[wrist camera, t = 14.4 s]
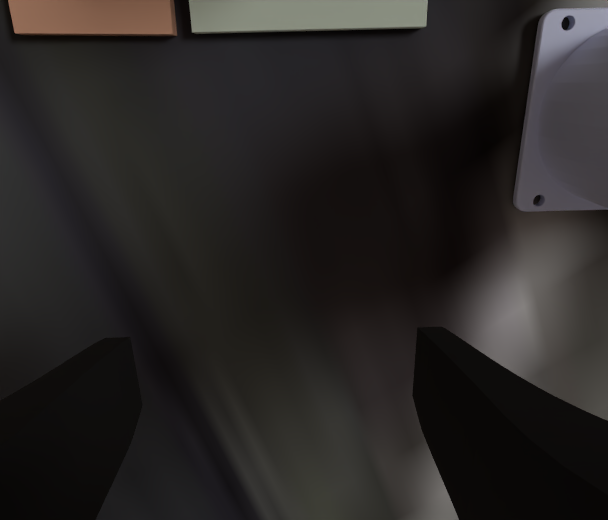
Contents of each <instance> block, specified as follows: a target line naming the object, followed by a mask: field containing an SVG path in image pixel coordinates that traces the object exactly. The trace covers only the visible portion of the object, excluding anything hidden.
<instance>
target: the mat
mask: <svg viewBox="0 0 608 520" xmlns="http://www.w3.org/2000/svg"><path fill="white" fill-rule="evenodd" d="M427 3H428V0H189V6H190V16H191V26H192V32H193V33H195V34H210V33H250V32H291V31H331V30H372V29H413V28H424V27H426V19H427Z"/></svg>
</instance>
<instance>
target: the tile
mask: <svg viewBox="0 0 608 520" xmlns="http://www.w3.org/2000/svg"><path fill="white" fill-rule="evenodd" d="M8 2H9V7H10V12H11V17H12V22H13V27H14V32H15V33H16V34H21V35H79V36H177V30H176V18H175V7H174V0H8Z"/></svg>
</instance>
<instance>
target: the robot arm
mask: <svg viewBox="0 0 608 520" xmlns="http://www.w3.org/2000/svg"><path fill="white" fill-rule="evenodd" d="M565 17H567V18H568V19H569V27H568V28H567V29H566V30H563V28H562V25H561V23H562V20H563V19H564V18H565ZM537 195H540V197H541V199H540V201H539V202H538V203H537V204H533V200H534V198H535V197H536V196H537ZM513 204H514V206H515V207H516V208H517V209H519V210H520V211H524V212H534V211H571V210H608V8H571V9H554V10H550V11H547V12H546V13H545V14H543V15H542V17H541V18H540V20H539V23H538V28H537V35H536V42H535V49H534V56H533V63H532V70H531V77H530V84H529V91H528V98H527V105H526V112H525V119H524V126H523V133H522V140H521V147H520V154H519V161H518V167H517V174H516V181H515V188H514V195H513ZM413 399H414V403H415V407H416V411H417V415H418V418H419V422H420V425H421V429H422V432H423V434H424V437H425V439H426V442H427V444H428V446H429V449H430V451H431V454H432V456H433V459H434V461H435V463H436V466H437V468H438V470H439V473H440V475H441V477H442V480H443V482H444V485H445V487H446V489H447V492H448V494H449V496H450V499H451V501H452V503H453V506H454V508H455V511H456V513H457V515H458V518H459V520H608V421H607V420H604V419H602V418H600V417H597V416H595V415H593V414H590V413H588V412H586V411H584V410H582V409H580V408H578V407H576V406H573V405H571V404H569V403H567V402H565V401H563V400H561V399H559V398H557V397H555V396H553V395H551V394H549V393H547V392H545V391H544V390H542V389H540V388H538V387H536V386H535V385H533V384H531V383H529V382H528V381H526V380H524V379H523V378H521V377H519V376H517V375H516V374H514V373H512V372H511V371H509V370H508V369H506V368H504V367H503V366H501V365H500V364H498V363H496V362H495V361H493V360H492V359H490V358H489V357H487V356H486V355H484V354H483V353H481V352H480V351H478V350H477V349H475V348H474V347H472V346H471V345H469V344H468V343H466V342H465V341H463V340H462V339H461V338H459V337H458V336H456V335H455V334H453V333H451V332H450V331H448V330H447V329H445V328H443V327H421V328H417V341H416V355H415V369H414V382H413ZM141 408H142V401H141V395H140V390H139V384H138V379H137V373H136V368H135V362H134V357H133V351H132V346H131V340H130V337H124V338H105V339H103V340H101V341H99V342H97V343H95V344H93V345H92V346H90V347H88V348H87V349H85V350H83V351H82V352H80V353H78V354H77V355H75V356H74V357H72V358H71V359H69V360H67V361H66V362H64V363H63V364H61V365H59V366H58V367H56V368H55V369H53V370H51V371H50V372H48V373H47V374H45V375H43V376H42V377H40V378H39V379H37V380H35V381H34V382H32V383H30V384H29V385H27V386H25V387H23V388H22V389H20V390H18V391H17V392H15V393H13V394H11V395H10V396H8V397H6V398H5V399H3V400H1V401H0V520H95V519H96V517H97V515H98V513H99V511H100V509H101V506H102V504H103V502H104V500H105V498H106V496H107V494H108V491H109V489H110V487H111V485H112V483H113V481H114V479H115V476H116V474H117V472H118V470H119V468H120V466H121V463H122V461H123V459H124V457H125V455H126V452H127V450H128V448H129V446H130V443H131V441H132V438H133V435H134V432H135V429H136V425H137V422H138V418H139V415H140V411H141Z"/></svg>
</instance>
